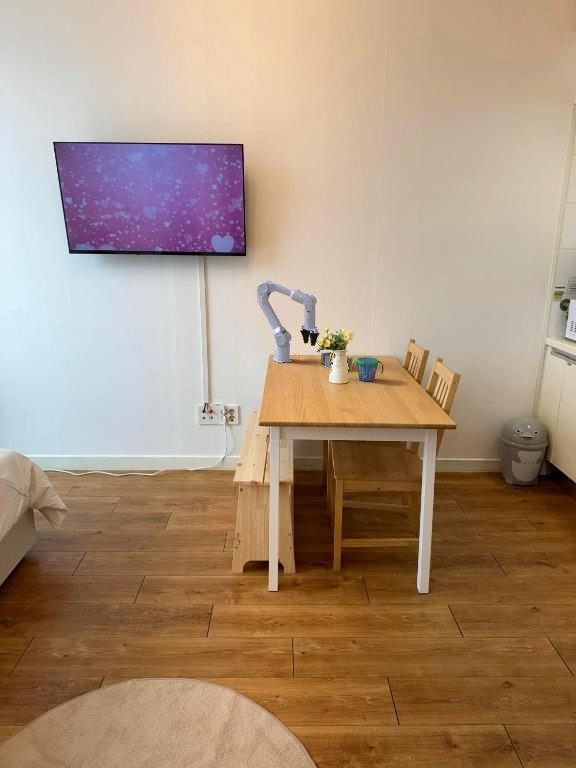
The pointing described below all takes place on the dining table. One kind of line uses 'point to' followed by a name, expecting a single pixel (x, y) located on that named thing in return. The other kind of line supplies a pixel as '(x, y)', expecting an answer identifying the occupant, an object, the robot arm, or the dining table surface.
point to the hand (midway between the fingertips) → (309, 344)
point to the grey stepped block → (326, 360)
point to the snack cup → (367, 368)
